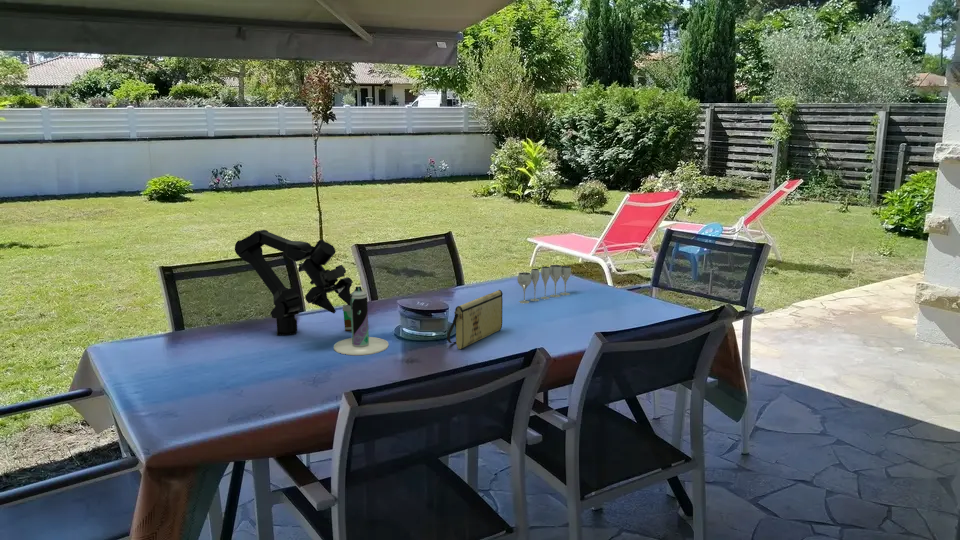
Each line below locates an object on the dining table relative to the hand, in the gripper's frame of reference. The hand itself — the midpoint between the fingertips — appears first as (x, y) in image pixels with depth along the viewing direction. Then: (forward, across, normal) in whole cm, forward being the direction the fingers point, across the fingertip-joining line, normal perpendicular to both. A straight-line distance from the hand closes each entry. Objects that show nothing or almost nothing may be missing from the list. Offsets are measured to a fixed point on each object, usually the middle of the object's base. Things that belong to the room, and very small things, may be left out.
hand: (344, 309), depth 244 cm
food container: (+3, +16, +14) cm, 22 cm away
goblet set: (+32, +89, -15) cm, 96 cm away
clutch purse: (+34, +26, -17) cm, 45 cm away
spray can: (+13, 0, +4) cm, 13 cm away
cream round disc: (+13, 0, +4) cm, 14 cm away
